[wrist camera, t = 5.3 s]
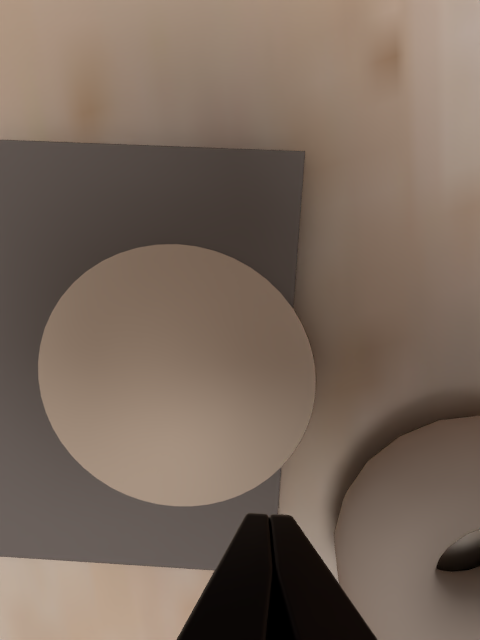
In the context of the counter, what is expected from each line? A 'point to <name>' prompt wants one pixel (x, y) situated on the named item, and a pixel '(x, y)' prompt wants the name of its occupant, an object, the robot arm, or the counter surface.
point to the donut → (414, 534)
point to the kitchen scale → (146, 348)
